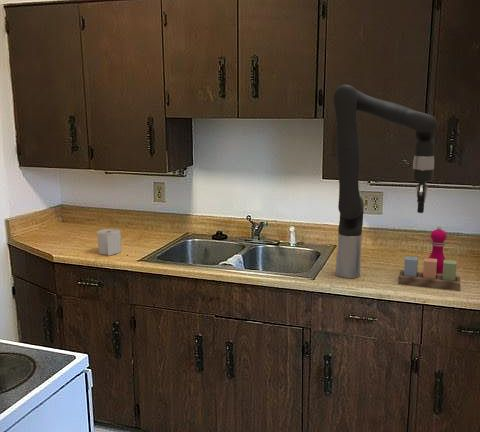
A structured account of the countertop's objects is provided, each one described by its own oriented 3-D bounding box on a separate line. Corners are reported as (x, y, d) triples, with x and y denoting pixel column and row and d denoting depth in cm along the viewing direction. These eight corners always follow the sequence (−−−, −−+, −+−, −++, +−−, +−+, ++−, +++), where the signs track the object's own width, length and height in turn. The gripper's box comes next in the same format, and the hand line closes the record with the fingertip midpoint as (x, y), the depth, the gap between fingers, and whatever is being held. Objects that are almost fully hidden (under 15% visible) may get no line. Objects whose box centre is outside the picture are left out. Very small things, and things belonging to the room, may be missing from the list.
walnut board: (398, 284, 209) (398, 276, 209) (400, 277, 217) (400, 269, 217) (459, 291, 201) (460, 283, 201) (459, 283, 209) (460, 276, 209)
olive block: (442, 280, 205) (443, 263, 204) (442, 277, 209) (443, 259, 208) (455, 282, 203) (456, 264, 202) (455, 278, 208) (456, 260, 206)
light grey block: (114, 247, 264) (113, 227, 262) (127, 252, 255) (126, 231, 253) (94, 251, 257) (93, 231, 255) (107, 257, 248) (105, 235, 246)
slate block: (403, 276, 210) (404, 259, 209) (404, 273, 214) (405, 256, 213) (416, 278, 208) (417, 260, 207) (417, 274, 213) (418, 257, 211)
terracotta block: (422, 278, 208) (423, 261, 206) (423, 275, 212) (424, 257, 210) (435, 280, 206) (436, 262, 204) (435, 276, 210) (437, 259, 209)
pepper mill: (441, 270, 225) (444, 223, 221) (448, 276, 218) (452, 227, 214) (423, 271, 225) (427, 224, 220) (430, 276, 218) (433, 228, 213)
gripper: (414, 165, 213) (411, 208, 216) (411, 169, 201) (408, 215, 204) (434, 166, 210) (431, 209, 214) (433, 170, 198) (429, 216, 202)
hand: (420, 212), depth 209 cm, fingers closed
